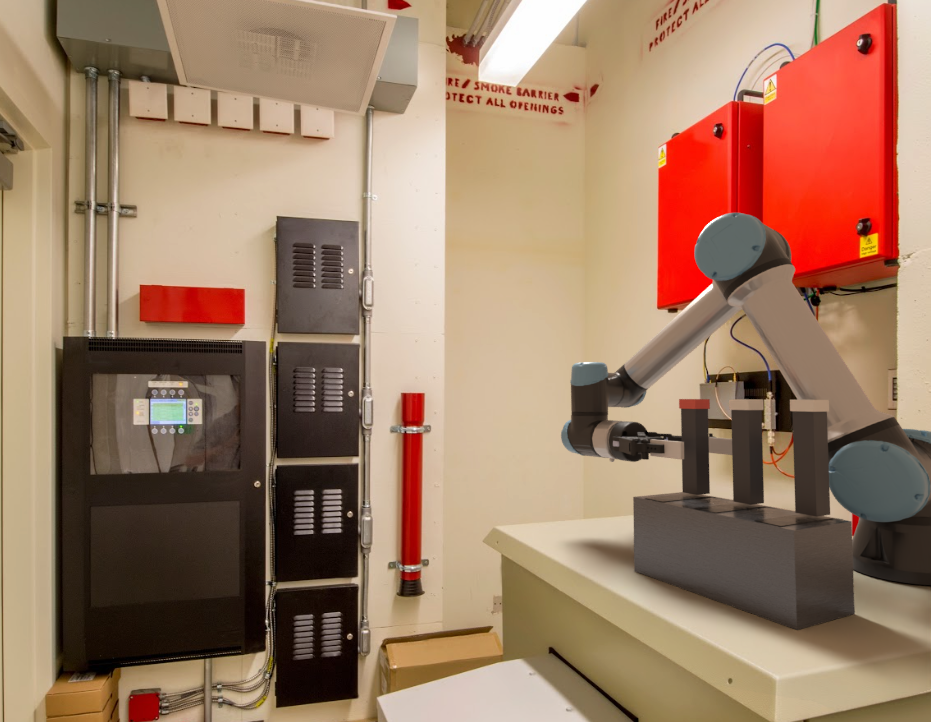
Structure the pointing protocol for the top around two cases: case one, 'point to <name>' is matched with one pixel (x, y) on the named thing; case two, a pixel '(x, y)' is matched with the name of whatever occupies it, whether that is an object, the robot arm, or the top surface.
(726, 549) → the dark grey block
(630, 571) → the top surface
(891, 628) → the top surface
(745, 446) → the post
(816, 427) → the post
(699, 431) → the post
